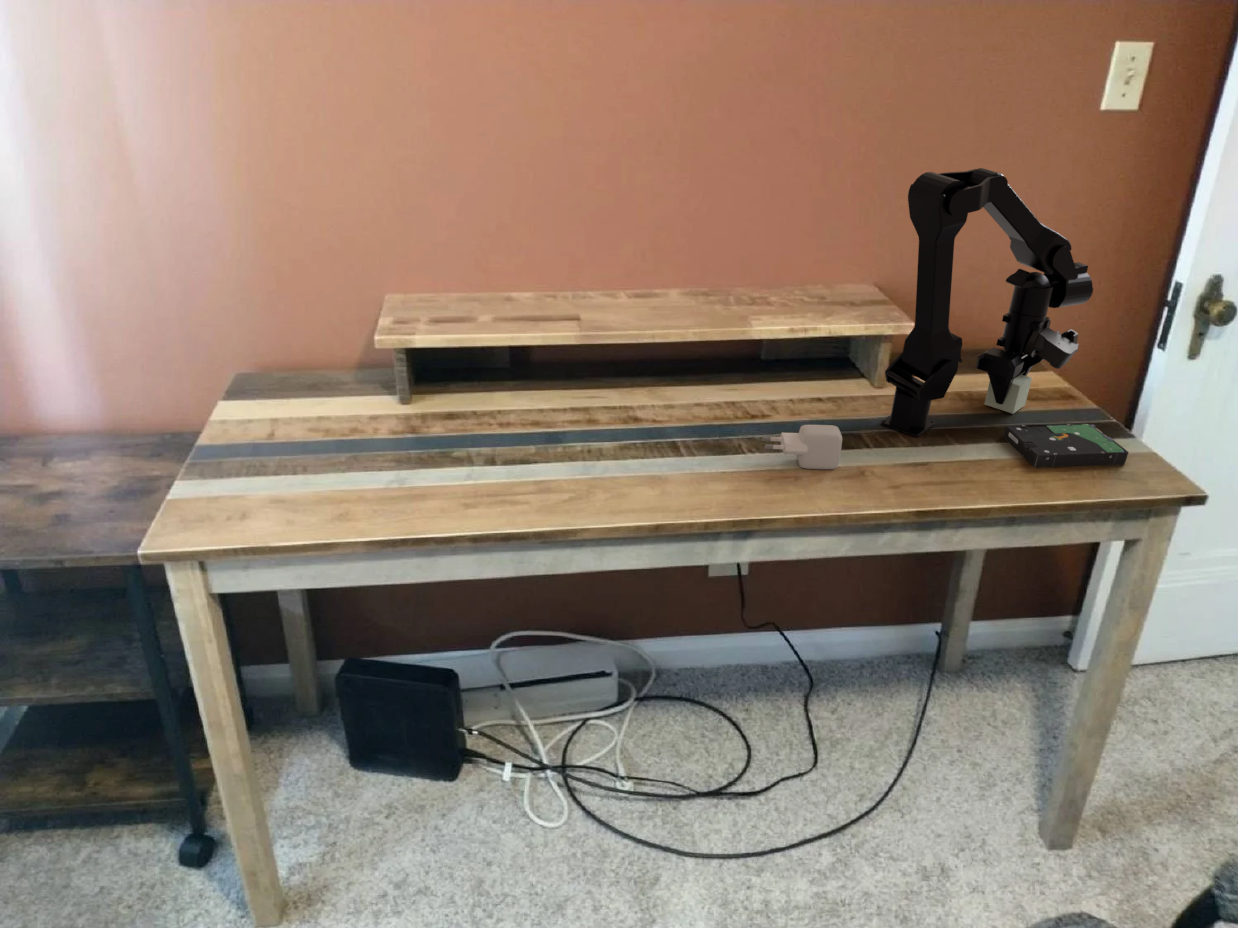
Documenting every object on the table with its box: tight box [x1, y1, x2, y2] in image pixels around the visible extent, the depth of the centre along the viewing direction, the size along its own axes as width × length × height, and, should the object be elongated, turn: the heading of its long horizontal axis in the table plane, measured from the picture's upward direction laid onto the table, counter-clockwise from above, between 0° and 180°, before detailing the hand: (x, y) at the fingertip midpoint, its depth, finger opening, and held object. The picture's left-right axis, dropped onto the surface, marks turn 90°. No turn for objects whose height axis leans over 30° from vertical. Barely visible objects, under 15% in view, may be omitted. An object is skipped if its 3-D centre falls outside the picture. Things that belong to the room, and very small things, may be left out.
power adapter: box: [761, 424, 843, 470], centre depth 142 cm, size 11×5×6 cm, turn 90°
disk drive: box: [1002, 422, 1129, 469], centre depth 150 cm, size 10×3×15 cm
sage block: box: [983, 375, 1033, 415], centre depth 163 cm, size 5×5×5 cm
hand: (1006, 399), depth 163 cm, fingers closed on sage block, 5 cm apart
